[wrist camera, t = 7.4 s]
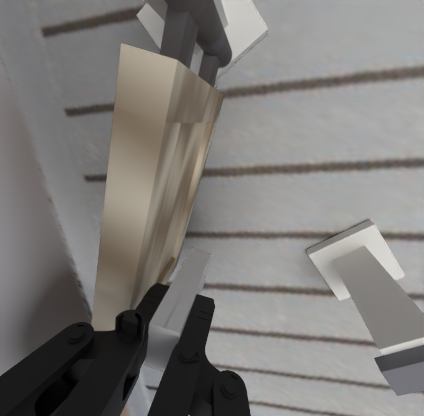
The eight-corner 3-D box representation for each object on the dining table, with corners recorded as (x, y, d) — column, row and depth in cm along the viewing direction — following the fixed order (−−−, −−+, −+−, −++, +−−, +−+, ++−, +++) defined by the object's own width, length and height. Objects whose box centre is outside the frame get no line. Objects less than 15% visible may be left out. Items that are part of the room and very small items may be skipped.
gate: (211, 38, 16) (135, -97, 6) (237, 46, 16) (204, -79, 6) (159, 257, 24) (87, 356, 14) (177, 264, 24) (118, 368, 14)
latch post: (306, 249, 22) (344, 352, 12) (369, 219, 20) (477, 314, 10) (336, 294, 23) (394, 421, 13) (399, 269, 21) (523, 399, 11)
